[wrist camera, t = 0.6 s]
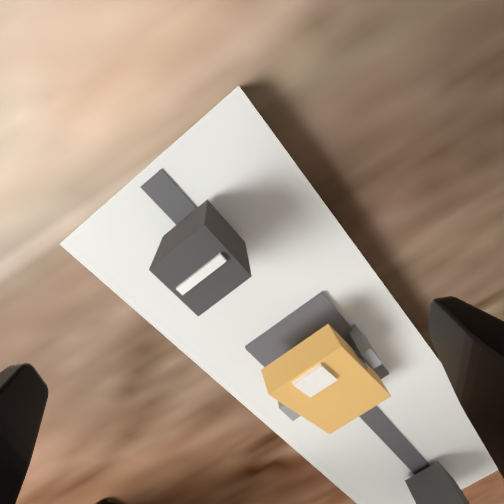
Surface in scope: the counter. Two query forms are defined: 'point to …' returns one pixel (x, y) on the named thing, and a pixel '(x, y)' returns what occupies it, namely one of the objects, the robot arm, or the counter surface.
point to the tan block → (324, 381)
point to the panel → (283, 303)
